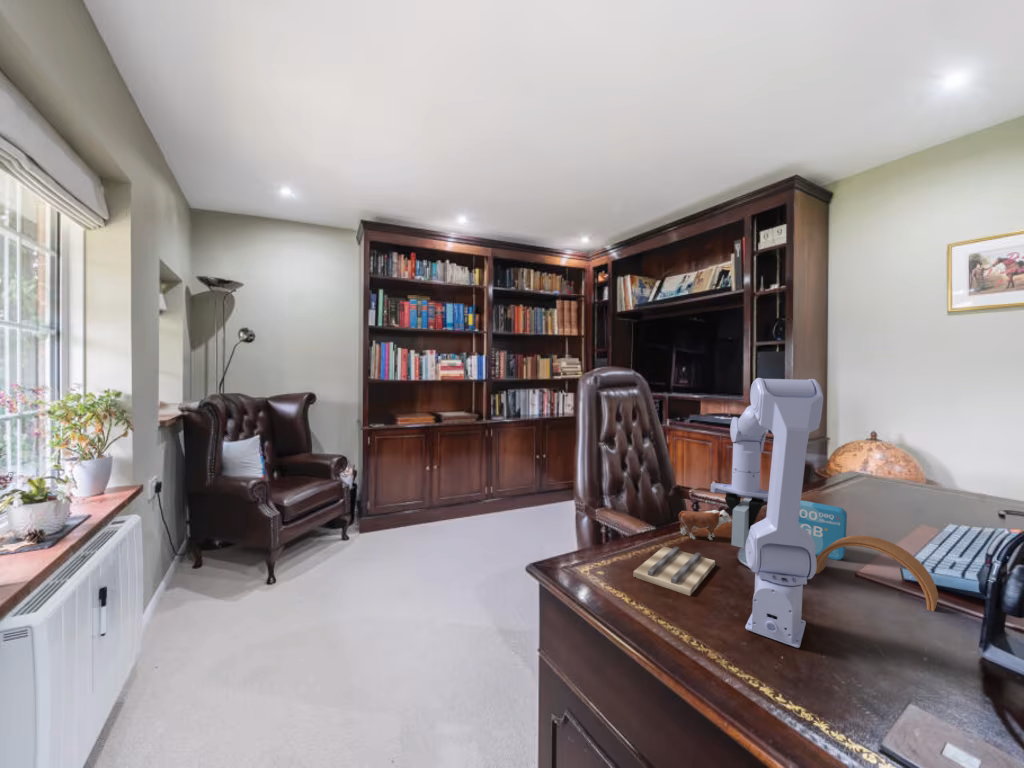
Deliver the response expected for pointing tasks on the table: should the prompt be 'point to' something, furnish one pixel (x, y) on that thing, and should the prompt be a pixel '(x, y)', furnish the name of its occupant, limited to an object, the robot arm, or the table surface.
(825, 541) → the data package
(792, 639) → the robot arm
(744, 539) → the grey rectangular block
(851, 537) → the arch
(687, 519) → the bull figurine
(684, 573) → the track board
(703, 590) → the table surface
